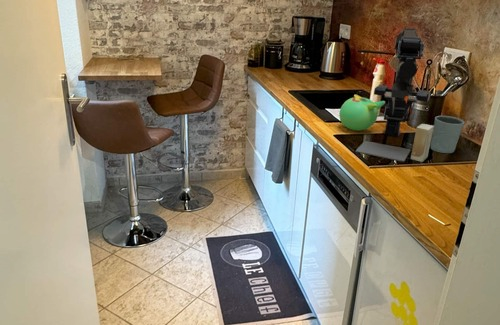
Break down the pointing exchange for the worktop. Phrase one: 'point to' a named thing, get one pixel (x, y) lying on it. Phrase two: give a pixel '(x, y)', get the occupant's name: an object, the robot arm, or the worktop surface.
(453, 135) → the grey cup
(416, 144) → the skincare box
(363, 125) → the green teapot
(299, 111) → the worktop surface
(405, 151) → the mat
